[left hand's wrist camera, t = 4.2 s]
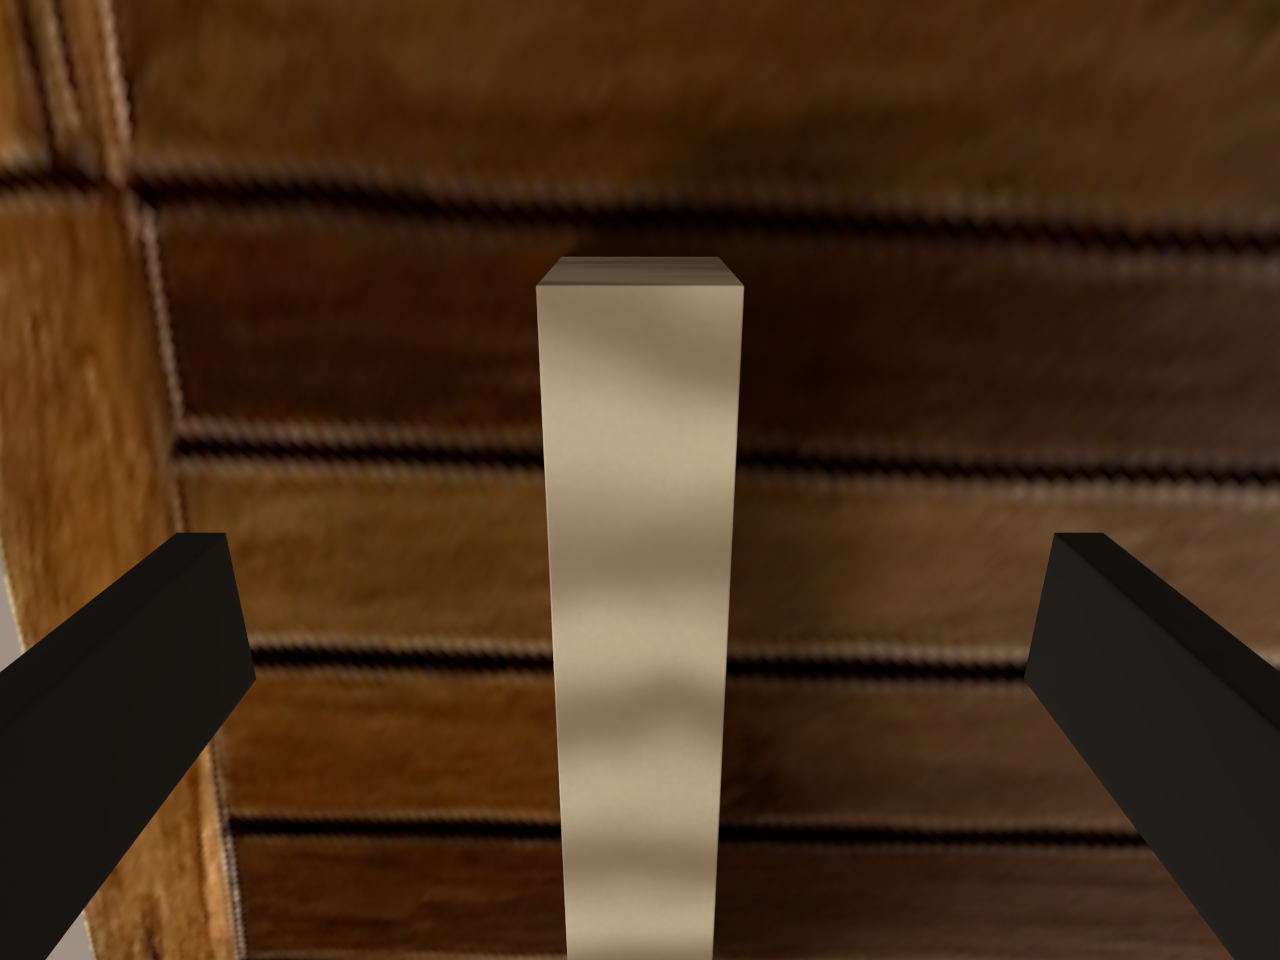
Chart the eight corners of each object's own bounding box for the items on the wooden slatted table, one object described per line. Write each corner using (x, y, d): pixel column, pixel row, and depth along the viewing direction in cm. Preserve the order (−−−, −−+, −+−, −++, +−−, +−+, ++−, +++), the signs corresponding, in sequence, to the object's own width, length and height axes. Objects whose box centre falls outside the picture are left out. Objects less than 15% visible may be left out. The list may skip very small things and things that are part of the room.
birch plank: (560, 256, 25) (535, 284, 19) (719, 256, 25) (744, 285, 19) (588, 1030, 38) (578, 1192, 32) (691, 1030, 38) (701, 1192, 32)
